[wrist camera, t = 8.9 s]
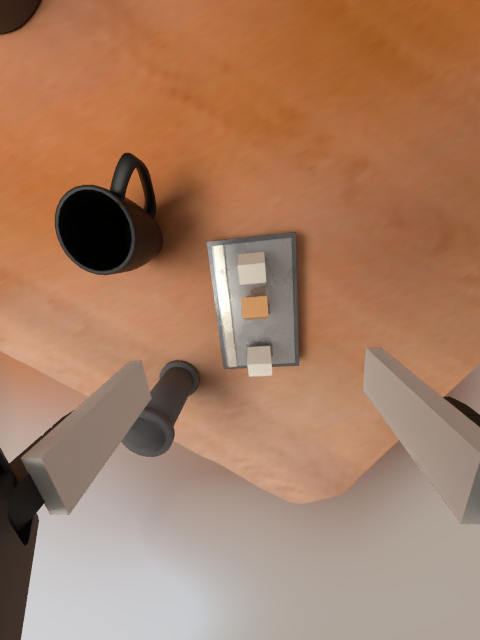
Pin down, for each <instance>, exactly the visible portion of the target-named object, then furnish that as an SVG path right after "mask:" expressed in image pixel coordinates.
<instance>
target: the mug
mask: <svg viewBox="0 0 480 640" xmlns="http://www.w3.org/2000/svg"><path fill="white" fill-rule="evenodd" d="M135 168H136V169H137V171H138V174H139V177H140V180H141V183H142V187H143V191H144V196H145V206H144V209H142V208H141V207H140V206H138V205H137V204H136V203H134V202H133V201H131V200H129V199H128V198H126V197H125V193H126V189H127V185H128V182H129V179H130V177H131V175H132V172H133V171H134V169H135ZM155 214H156V201H155V195H154V191H153V186H152V182H151V178H150V174H149V171H148V169H147V167H146V166H145V164H144V163H143V162H142V161H141V160H139V159H138V158H137V157H135V156H134V155H133V154H131V153H124V154H123V155H122V156H121V158H120V160H119V162H118V164H117V166H116V169H115V172H114V176H113V179H112V183H111V188H110V190H108V189H105V188H102V187H99V186H95V185H82V186H78V187H74V188H73V189H71V190H69V191H68V192H67V193H66V194H65V195H64V196H63V197H62V198H61V200H60V202H59V204H58V206H57V209H56V213H55V229H56V234H57V237H58V240H59V242H60V245H61V247H62V248H63V250H64V252H65V253H66V255H67V256H68V257H69V258H70V259H71V260H72V261H73V262H74V263H75V264H76V265H78V266H79V267H80V268H82V269H84V270H86V271H88V272H91V273H94V274H98V275H110V274H116V273H122V272H127V271H132V270H134V269H137V268H139V267H141V266H143V265H145V264H146V263H148V262H149V261H150V260H151V259H152V258H153V257H155V256H156V255H157V254H158V253H159V251H160V250H161V247H162V243H163V236H162V232H161V230H160V228H159V226H158V225H157V223H156V222H154V220H153V219H154V217H155Z"/></svg>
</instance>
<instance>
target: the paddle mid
mask: <svg viewBox="0 0 480 640" xmlns="http://www.w3.org/2000/svg"><path fill="white" fill-rule="evenodd" d="M241 302H242V308H241V310H242V318H243V319H244V320H257V319H268V317H269V316H268V314H270V305H268V302H267V296H258V297H246V298H241Z"/></svg>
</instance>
